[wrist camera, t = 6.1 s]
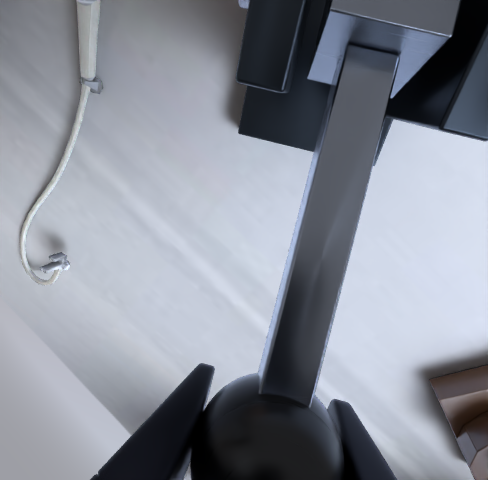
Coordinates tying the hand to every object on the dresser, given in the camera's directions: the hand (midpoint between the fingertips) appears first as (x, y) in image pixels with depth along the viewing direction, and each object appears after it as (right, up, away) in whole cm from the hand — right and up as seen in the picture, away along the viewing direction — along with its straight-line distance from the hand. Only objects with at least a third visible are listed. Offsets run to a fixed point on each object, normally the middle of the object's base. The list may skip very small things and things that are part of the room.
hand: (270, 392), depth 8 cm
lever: (+1, +4, 0) cm, 4 cm away
